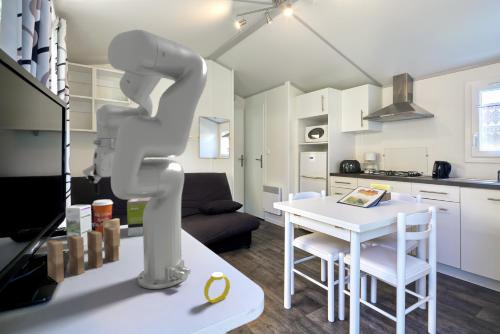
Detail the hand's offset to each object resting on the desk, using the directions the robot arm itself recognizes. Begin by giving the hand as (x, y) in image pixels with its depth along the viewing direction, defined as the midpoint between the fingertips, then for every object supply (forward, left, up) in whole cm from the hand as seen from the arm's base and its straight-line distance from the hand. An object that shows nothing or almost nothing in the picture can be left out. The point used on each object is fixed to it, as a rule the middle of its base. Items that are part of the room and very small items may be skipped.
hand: (110, 192), depth 89 cm
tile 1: (-10, +6, -20) cm, 23 cm away
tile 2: (-10, +11, -20) cm, 25 cm away
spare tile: (0, 0, -20) cm, 20 cm away
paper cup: (+20, -8, -20) cm, 29 cm away
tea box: (+9, -19, -20) cm, 29 cm away
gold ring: (-53, +7, -20) cm, 57 cm away
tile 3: (-10, +16, -20) cm, 27 cm away
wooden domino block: (-10, +21, -20) cm, 31 cm away
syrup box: (+14, +4, -20) cm, 25 cm away
